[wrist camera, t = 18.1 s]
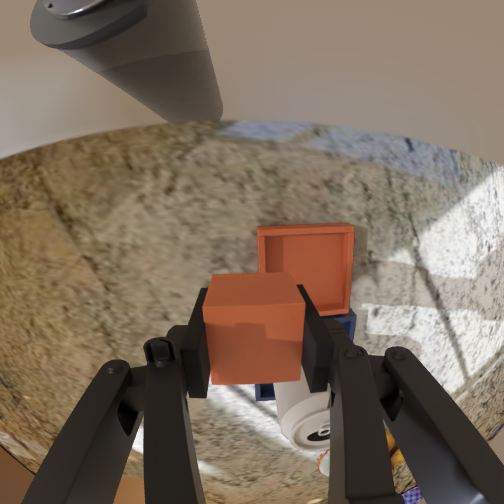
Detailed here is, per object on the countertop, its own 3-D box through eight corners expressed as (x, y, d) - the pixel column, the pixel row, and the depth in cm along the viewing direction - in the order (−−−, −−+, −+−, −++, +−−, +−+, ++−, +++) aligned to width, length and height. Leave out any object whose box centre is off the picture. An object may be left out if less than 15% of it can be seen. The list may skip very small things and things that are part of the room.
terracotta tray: (256, 226, 27) (257, 229, 25) (347, 222, 27) (354, 225, 25) (260, 312, 29) (261, 321, 27) (342, 305, 29) (348, 313, 27)
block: (212, 274, 16) (202, 306, 12) (289, 271, 17) (306, 302, 12) (217, 340, 18) (211, 385, 13) (287, 337, 18) (300, 381, 13)
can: (269, 382, 31) (280, 461, 20) (269, 332, 29) (283, 413, 18) (328, 375, 31) (357, 448, 20) (335, 326, 29) (376, 397, 18)
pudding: (387, 501, 50) (392, 512, 45) (417, 482, 48) (422, 494, 43) (404, 499, 53) (408, 509, 47) (431, 481, 50) (436, 491, 45)
